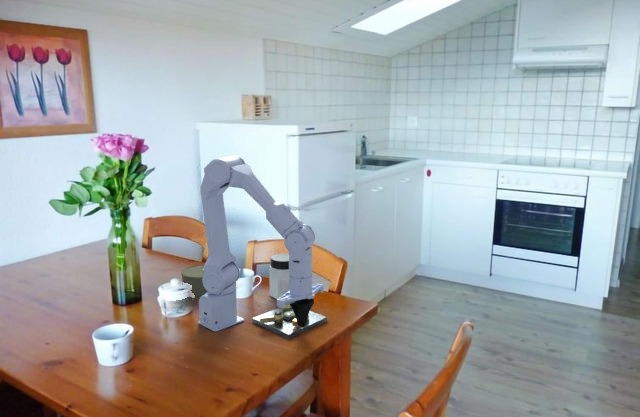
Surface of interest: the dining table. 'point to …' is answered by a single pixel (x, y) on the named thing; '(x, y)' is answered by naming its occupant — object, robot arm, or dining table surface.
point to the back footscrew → (286, 308)
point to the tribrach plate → (290, 323)
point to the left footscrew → (272, 318)
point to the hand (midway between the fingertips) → (301, 326)
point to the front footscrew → (294, 322)
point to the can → (195, 279)
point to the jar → (279, 275)
